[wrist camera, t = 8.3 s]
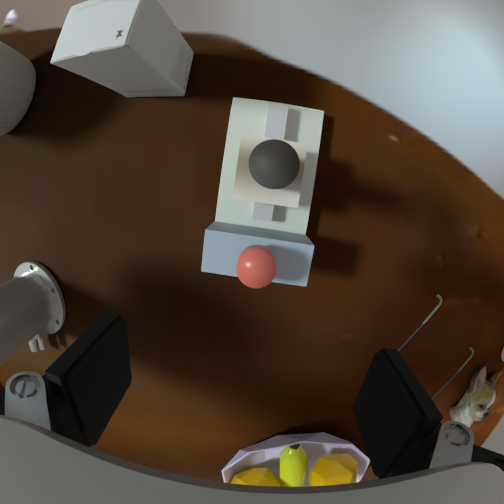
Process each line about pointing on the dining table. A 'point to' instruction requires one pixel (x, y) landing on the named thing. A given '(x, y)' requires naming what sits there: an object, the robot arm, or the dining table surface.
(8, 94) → the canister
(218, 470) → the dining table surface
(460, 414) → the ceramic sculpture
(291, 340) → the dining table surface
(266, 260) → the button
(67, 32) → the skincare box
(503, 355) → the white bottle
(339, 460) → the fruit bowl
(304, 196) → the rail board
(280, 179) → the carriage
